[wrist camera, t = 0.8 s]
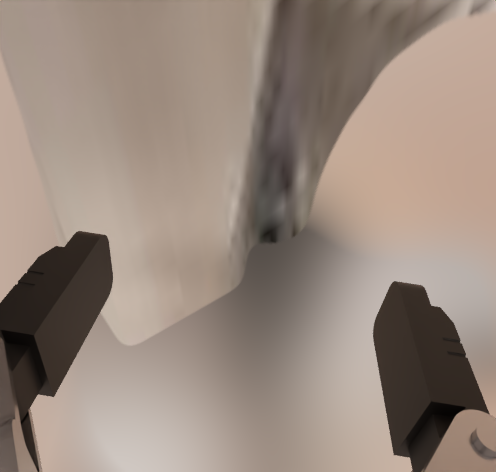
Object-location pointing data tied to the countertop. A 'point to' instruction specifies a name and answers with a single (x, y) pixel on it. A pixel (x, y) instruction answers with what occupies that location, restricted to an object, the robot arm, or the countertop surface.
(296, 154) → the countertop surface
